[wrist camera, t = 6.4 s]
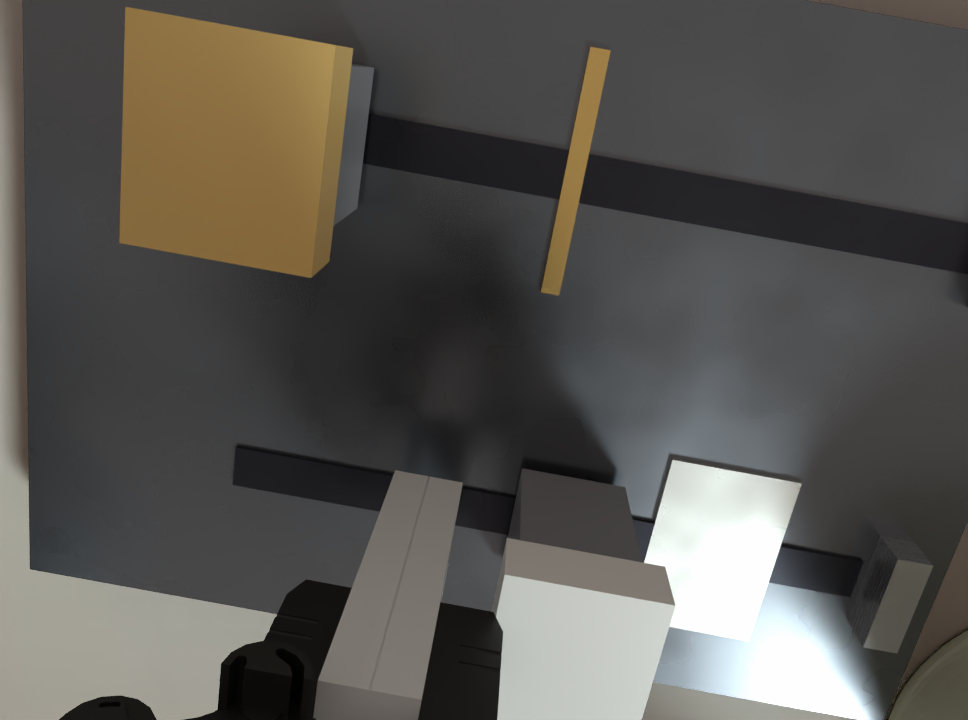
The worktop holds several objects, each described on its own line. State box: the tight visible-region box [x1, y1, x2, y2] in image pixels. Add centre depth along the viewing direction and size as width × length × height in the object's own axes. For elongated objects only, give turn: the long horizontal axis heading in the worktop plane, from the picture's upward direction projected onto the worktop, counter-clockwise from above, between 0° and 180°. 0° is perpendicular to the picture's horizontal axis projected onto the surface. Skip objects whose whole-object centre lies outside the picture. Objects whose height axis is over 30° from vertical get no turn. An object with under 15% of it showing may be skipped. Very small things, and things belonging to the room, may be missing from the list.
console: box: [23, 0, 968, 720], centre depth 19 cm, size 22×16×3 cm
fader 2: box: [491, 468, 676, 720], centre depth 17 cm, size 3×3×5 cm
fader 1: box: [119, 7, 374, 278], centre depth 14 cm, size 3×3×5 cm
